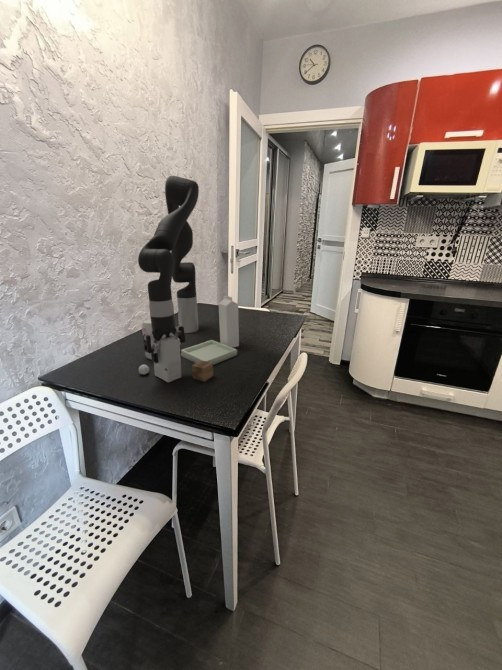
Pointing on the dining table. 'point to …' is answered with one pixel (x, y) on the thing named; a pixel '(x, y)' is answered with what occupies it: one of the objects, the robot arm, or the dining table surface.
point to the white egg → (143, 369)
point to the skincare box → (168, 359)
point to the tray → (209, 352)
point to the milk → (228, 322)
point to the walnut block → (202, 370)
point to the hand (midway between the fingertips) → (167, 358)
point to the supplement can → (147, 330)
